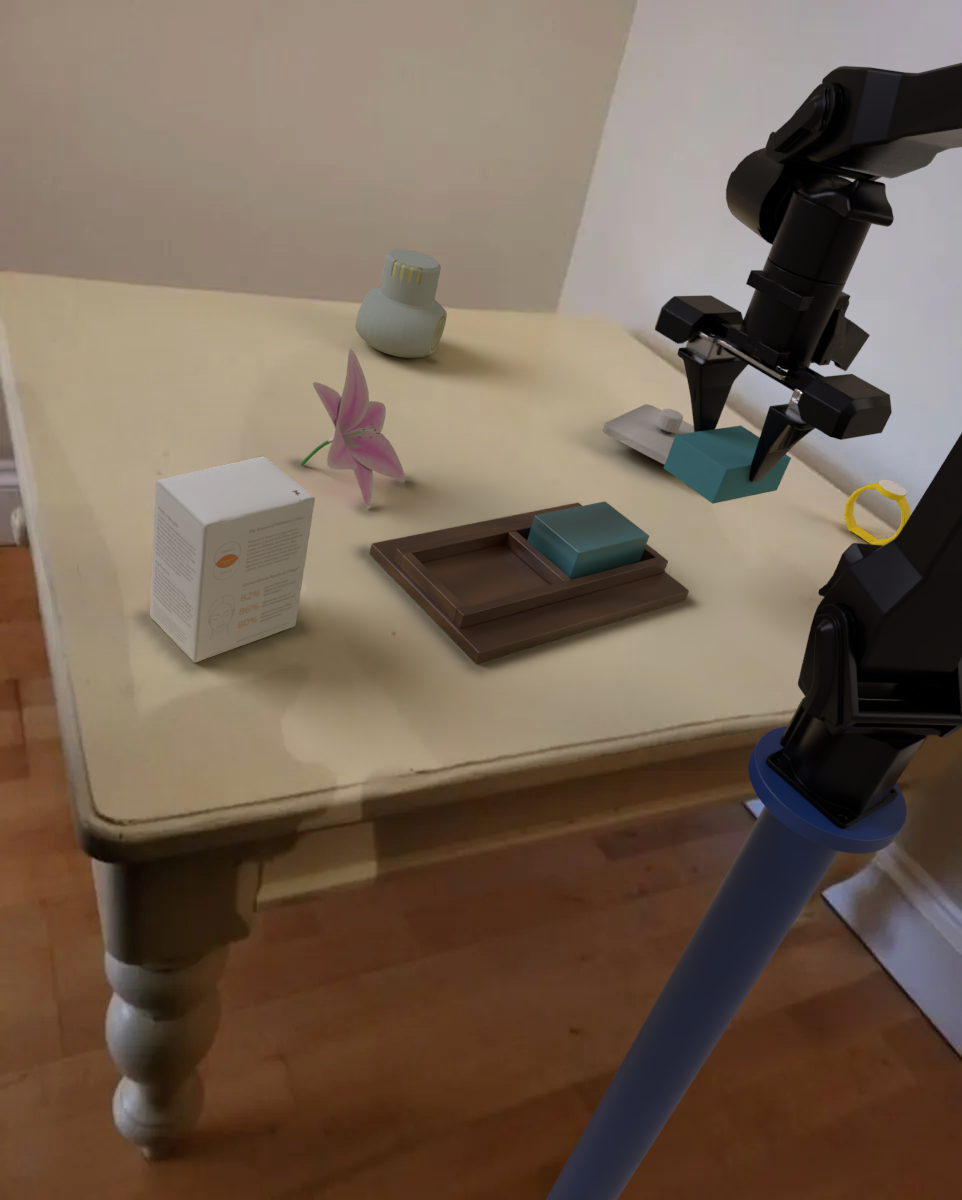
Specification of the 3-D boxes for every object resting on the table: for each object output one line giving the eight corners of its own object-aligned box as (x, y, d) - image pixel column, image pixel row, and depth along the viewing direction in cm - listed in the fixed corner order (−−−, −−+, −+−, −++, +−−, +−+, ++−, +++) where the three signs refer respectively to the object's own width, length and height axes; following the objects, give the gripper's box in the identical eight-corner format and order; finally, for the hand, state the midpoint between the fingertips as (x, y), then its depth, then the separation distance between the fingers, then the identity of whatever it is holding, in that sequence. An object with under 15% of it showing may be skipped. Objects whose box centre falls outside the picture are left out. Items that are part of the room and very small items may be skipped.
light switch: (676, 491, 100) (694, 445, 97) (593, 447, 103) (608, 402, 101) (717, 465, 107) (735, 422, 104) (638, 425, 111) (653, 383, 108)
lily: (293, 532, 80) (370, 454, 76) (229, 416, 84) (299, 335, 79) (388, 533, 90) (460, 465, 86) (327, 429, 94) (394, 359, 89)
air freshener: (375, 322, 118) (390, 235, 112) (443, 342, 117) (462, 256, 112) (346, 353, 108) (361, 260, 103) (420, 375, 108) (439, 283, 103)
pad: (776, 490, 82) (791, 457, 81) (712, 503, 78) (726, 469, 76) (727, 457, 86) (740, 425, 84) (663, 468, 81) (675, 434, 79)
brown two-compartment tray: (685, 600, 84) (702, 560, 81) (476, 664, 70) (489, 618, 68) (575, 511, 92) (588, 472, 89) (369, 553, 78) (377, 509, 76)
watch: (831, 526, 101) (857, 473, 98) (843, 519, 103) (869, 468, 100) (885, 556, 99) (913, 504, 95) (896, 549, 100) (925, 498, 97)
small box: (250, 584, 72) (266, 453, 66) (297, 628, 69) (318, 495, 63) (145, 616, 66) (153, 476, 60) (192, 666, 64) (205, 524, 58)
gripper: (977, 320, 71) (879, 510, 80) (777, 225, 82) (709, 401, 91) (890, 325, 65) (793, 531, 73) (685, 221, 76) (621, 411, 84)
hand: (727, 462), depth 81 cm, fingers closed on pad, 5 cm apart
